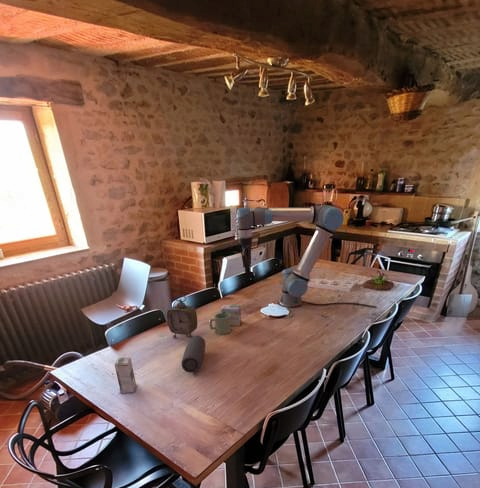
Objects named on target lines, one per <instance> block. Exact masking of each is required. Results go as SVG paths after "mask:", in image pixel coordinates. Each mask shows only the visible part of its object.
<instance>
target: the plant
mask: <svg viewBox="0 0 480 488" xmlns="http://www.w3.org/2000/svg"><path fill="white" fill-rule="evenodd" d="M375 274H379V275H378V276H373V278H371V279H368V280H366V281H365V282H364V283H363V288H364V289H369V290H374V291H379V292H382V291H386V292H388V291H391V290H392V288H393V287H394V286H395V283H394V282H393V281H391V280H388V278H389V276H388V274H385V273H384V272H382V273H381V271H379V270H376V271H375Z"/></svg>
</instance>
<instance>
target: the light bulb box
mask: <svg viewBox="0 0 480 488" xmlns="http://www.w3.org/2000/svg"><path fill="white" fill-rule="evenodd" d="M220 311H221V312H220V313H228V314H230V323H231V327H232V326H235V327H236V326H238V327H240V325H241V323H242V313H241V304H223V305H222V306H221V307H220Z"/></svg>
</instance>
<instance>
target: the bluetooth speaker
mask: <svg viewBox="0 0 480 488" xmlns="http://www.w3.org/2000/svg"><path fill="white" fill-rule="evenodd" d="M205 352H206V341H205V339H204V338H203V337H202V336H201V335H194V336H193V335H192V338H191V339H190V338H189V340H188V342H187V345H186V347H185V349H184V351H183V356H182V359H181V368H182V370H183V371H185V372H186V373H190V374H191V373H193V374H194V373H197V372H198V371H199V369H200V368H201V365H202V362H203V359H204V357H205Z"/></svg>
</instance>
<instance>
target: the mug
mask: <svg viewBox="0 0 480 488" xmlns="http://www.w3.org/2000/svg"><path fill="white" fill-rule="evenodd" d="M208 320H209V329H210V330H211V331H212V330H215V333H216V334H219V335H227V334H230V333H231V332H232V326H231V323H230V314H228V313H221V312H218V313H216V314H215V315H214V318H210V319H208ZM212 322H214V324H215V326H213V323H212Z"/></svg>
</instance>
